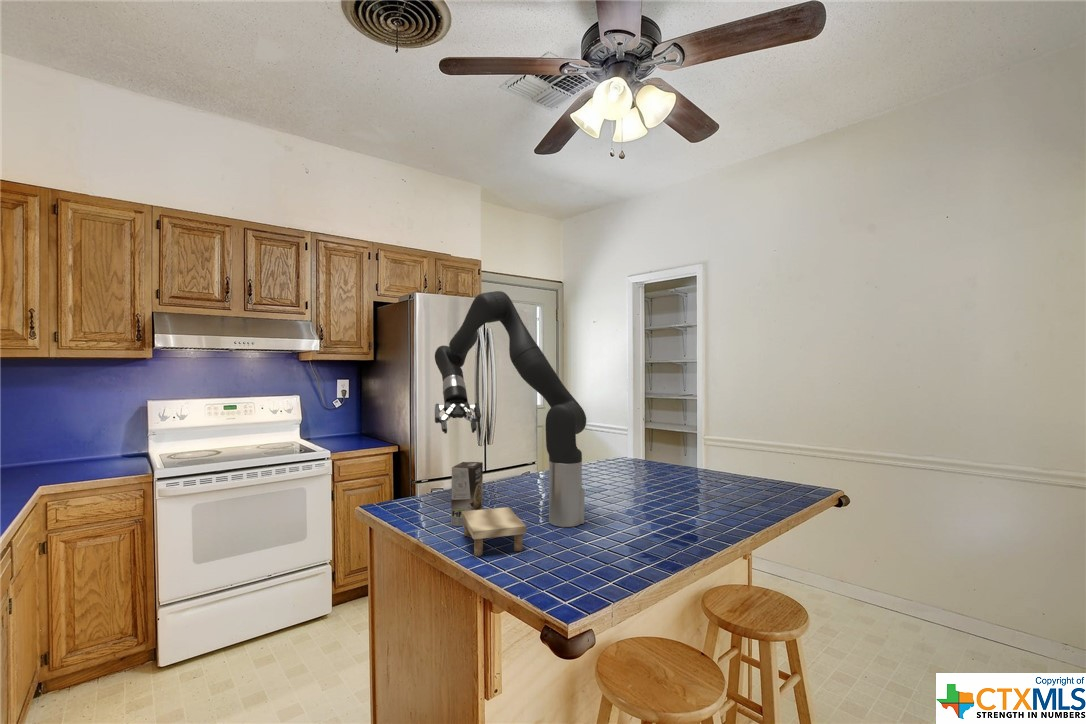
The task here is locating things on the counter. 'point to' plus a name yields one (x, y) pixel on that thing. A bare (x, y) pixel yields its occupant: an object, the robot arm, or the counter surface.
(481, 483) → the coffee box
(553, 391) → the robot arm
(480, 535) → the footstool
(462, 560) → the counter surface
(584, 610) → the counter surface
